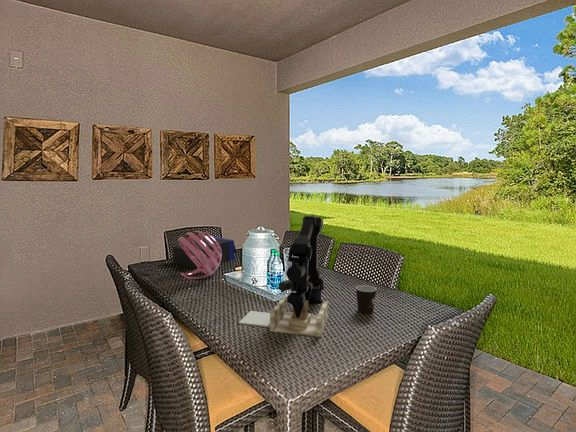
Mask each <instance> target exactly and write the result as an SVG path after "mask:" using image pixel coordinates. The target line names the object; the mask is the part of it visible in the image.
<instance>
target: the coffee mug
mask: <svg viewBox="0 0 576 432" xmlns="http://www.w3.org/2000/svg"><path fill="white" fill-rule="evenodd" d="M355 292H356V301H357V311H358V312H359V313H360V314H363V315H364V314H366V315H368V314H373V313H374V310H375V309H374V308H375V301H376V296H377V288H376V287H374V286H371V285H364V284H362V285H357V286H356V287H355Z"/></svg>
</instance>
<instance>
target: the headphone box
mask: <svg viewBox="0 0 576 432" xmlns="http://www.w3.org/2000/svg"><path fill="white" fill-rule="evenodd" d="M213 237H214V239H215V240H216V241H217V242H218V244H219V245H220V247H221V251H222V258H221V262H220V264H223V263H226V261H228V262H231V261H230V260H232V261H234V260H235V254H237V248H236V246H235V242H234V239H229V238H224V237H218V236H213ZM209 238H210V239H211V241H212V242H213V243H214V244H216V243H215V242H214V241H213V239H212V238H211V237H210V236H209ZM202 239H203V241H204V242H205V243H206V245H207V246H208V247H209V248H210V249H211V250H212V251H214V249H213V248H212V246H211V245H210V244H209V243H208V242H207V241H206V240H205V239H204V238H202ZM193 241H194V242H195V244H196V245H197V246H198V248H199V249H200V250H201V251H202V252H203V254H204V255H205V256H206V257H207V258H209V256H208V255H207V253H206V252H205V251H204V250H203V249H202V247H201V246H200V245H199V244H198V243H197V242H196V241H195V240H193ZM186 247H187V246H186ZM217 247H218V246H217ZM187 248H188V247H187ZM218 248H219V247H218ZM188 250H189V251H190V252H191V253H192V251H191V250H190V249H189V248H188ZM172 255H173V256H172V258H173V264H175V265H178V264H179V266H182V267H185V266H186V268H189V269H192V268H193V269H192V270H196V269H197V268H198V267H197V266H196V264H195V263H194V262H193V261H192V260H191V259H190V258H189V256H188V255H187V254H186V253H185V251H184V250H183V249H182V247H181V246H180V244H179V245H176V246H173V247H172ZM192 255H193V256H194V257H195V258H196V259H197V260H198V258H197V257H196V256H195V255H194V254H193V253H192ZM216 255H217V253H216ZM217 256H218V255H217ZM198 261H199V260H198ZM217 262H218V263H219V261H218V260H217ZM199 263H200V264H202V263H201V262H200V261H199ZM212 263H213V262H212Z"/></svg>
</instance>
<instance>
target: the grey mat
mask: <svg viewBox="0 0 576 432" xmlns="http://www.w3.org/2000/svg"><path fill="white" fill-rule="evenodd" d="M270 313H271V312H265V311H263V312H262V311H255V310H254V311H253V310H250V311H249V312H247V314H246V315H245V316H244V317H243V318H242V319H241V320H240V321H239V322H238V323H239V325H245V326H246V325H247V326H248V325H249V326H255V327H262V328H270Z"/></svg>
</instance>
